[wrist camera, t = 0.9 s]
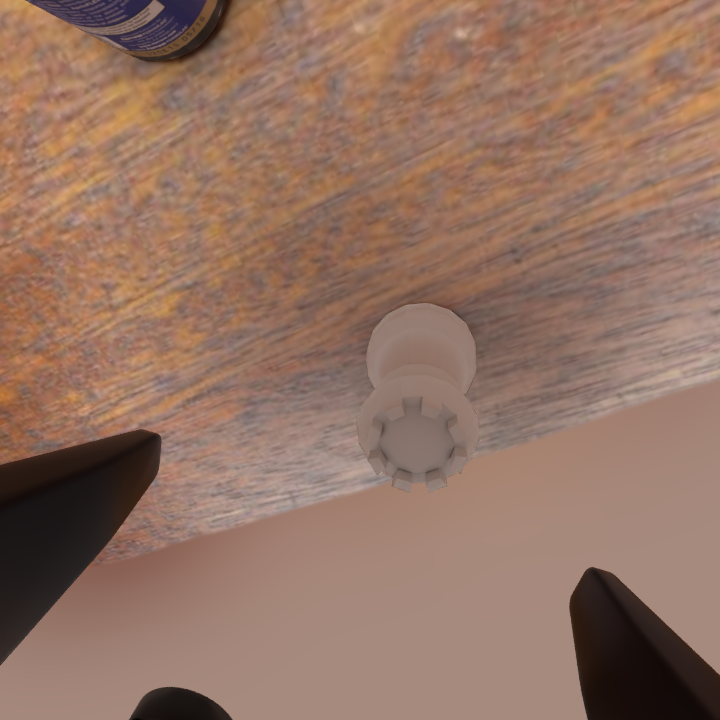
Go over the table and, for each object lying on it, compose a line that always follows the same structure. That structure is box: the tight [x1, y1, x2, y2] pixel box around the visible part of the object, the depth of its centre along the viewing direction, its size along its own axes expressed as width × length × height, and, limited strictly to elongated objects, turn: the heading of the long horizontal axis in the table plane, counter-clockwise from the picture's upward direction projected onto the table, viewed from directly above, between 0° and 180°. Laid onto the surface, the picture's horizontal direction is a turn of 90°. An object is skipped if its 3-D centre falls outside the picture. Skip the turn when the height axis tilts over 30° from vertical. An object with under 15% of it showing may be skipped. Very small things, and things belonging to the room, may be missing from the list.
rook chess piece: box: [357, 303, 479, 492], centre depth 14 cm, size 4×4×8 cm
